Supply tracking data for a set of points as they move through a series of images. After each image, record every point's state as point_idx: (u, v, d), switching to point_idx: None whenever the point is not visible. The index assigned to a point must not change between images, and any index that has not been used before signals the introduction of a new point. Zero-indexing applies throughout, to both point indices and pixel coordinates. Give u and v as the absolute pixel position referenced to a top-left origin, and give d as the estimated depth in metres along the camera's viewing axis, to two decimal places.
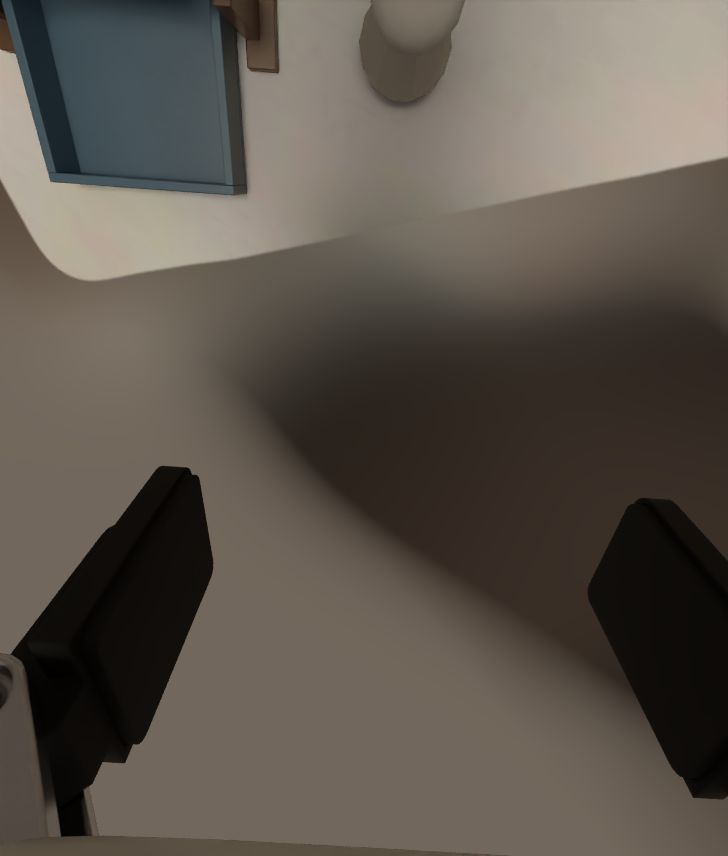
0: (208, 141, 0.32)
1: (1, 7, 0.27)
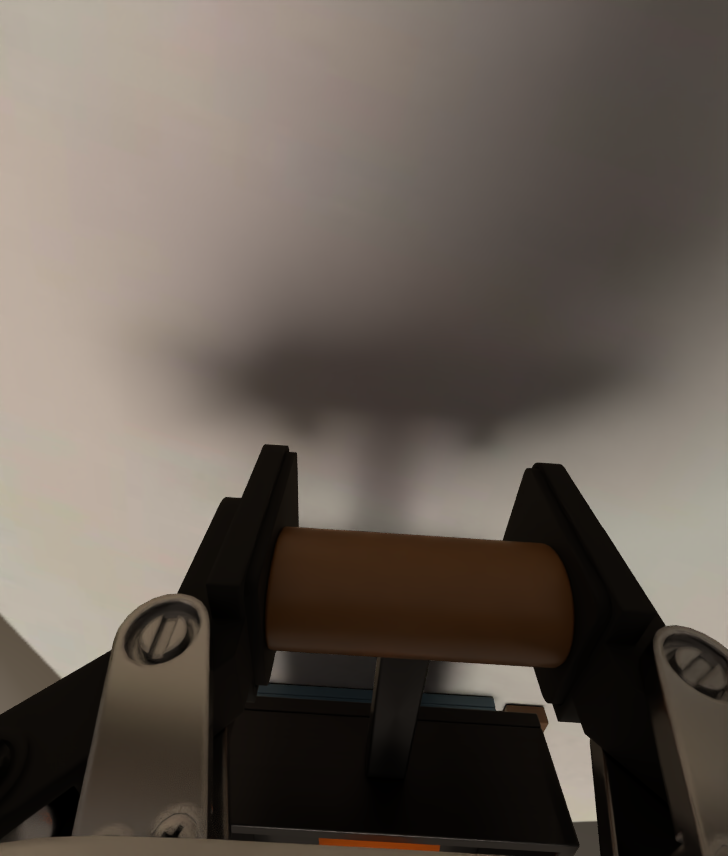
0: None
1: None
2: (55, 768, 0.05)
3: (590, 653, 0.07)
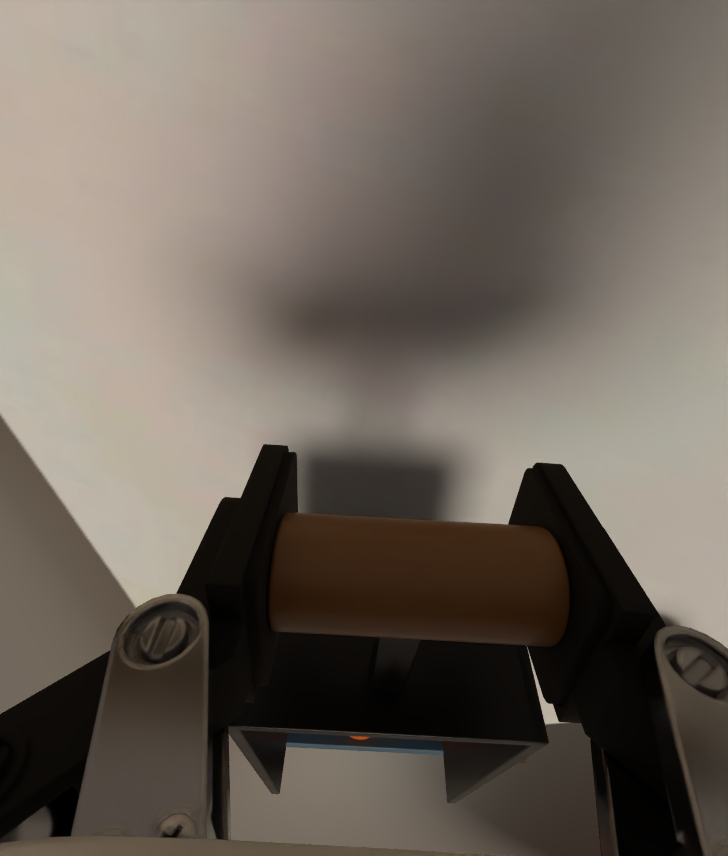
0: None
1: None
2: (54, 768, 0.05)
3: (591, 653, 0.07)
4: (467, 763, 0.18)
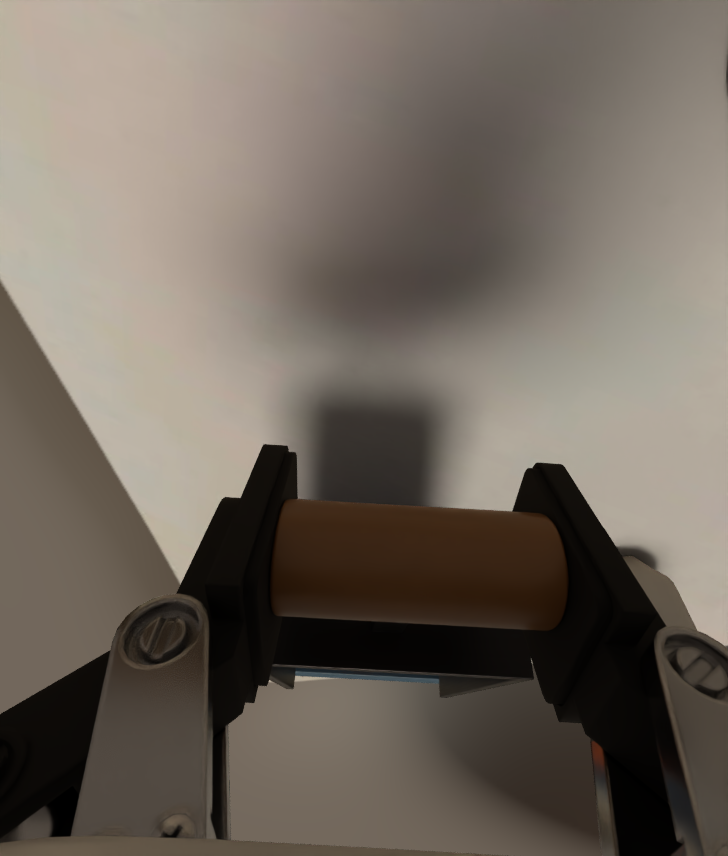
0: None
1: None
2: (53, 768, 0.05)
3: (591, 653, 0.07)
4: None
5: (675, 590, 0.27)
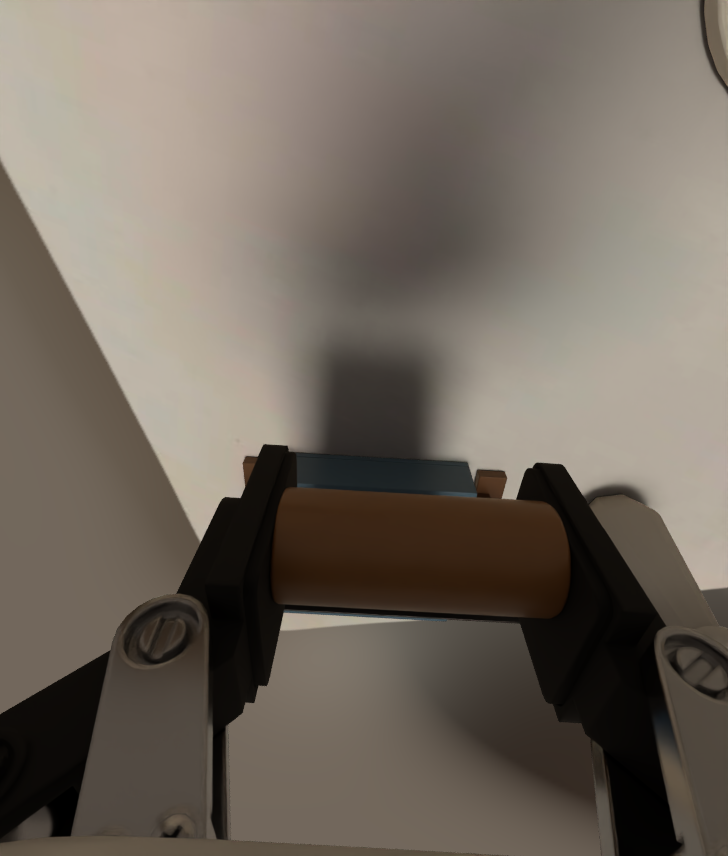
0: None
1: None
2: (54, 768, 0.05)
3: (591, 653, 0.07)
4: None
5: (662, 521, 0.29)
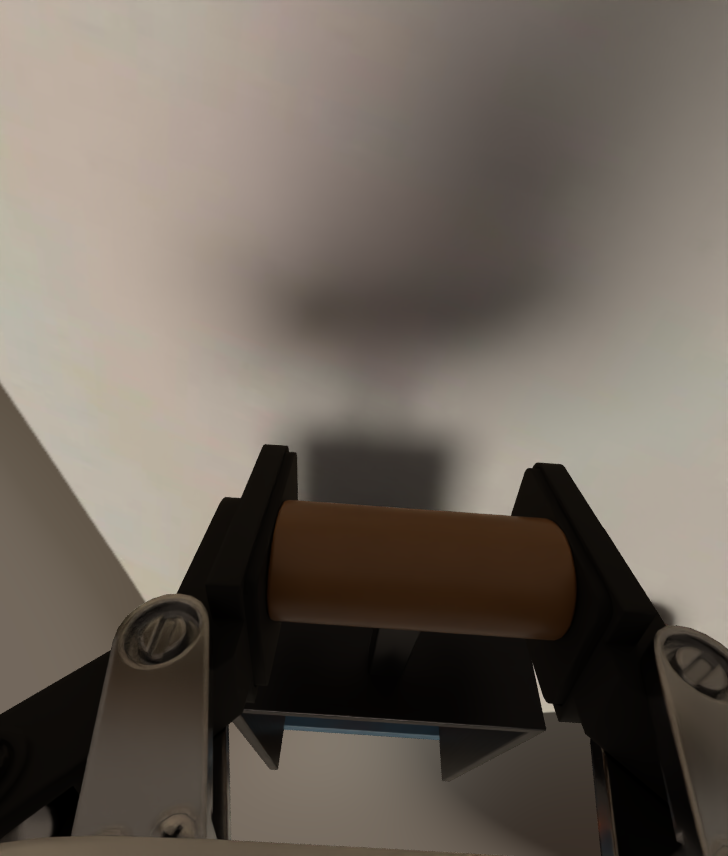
0: None
1: None
2: (54, 768, 0.05)
3: (590, 653, 0.07)
4: (463, 744, 0.18)
5: None
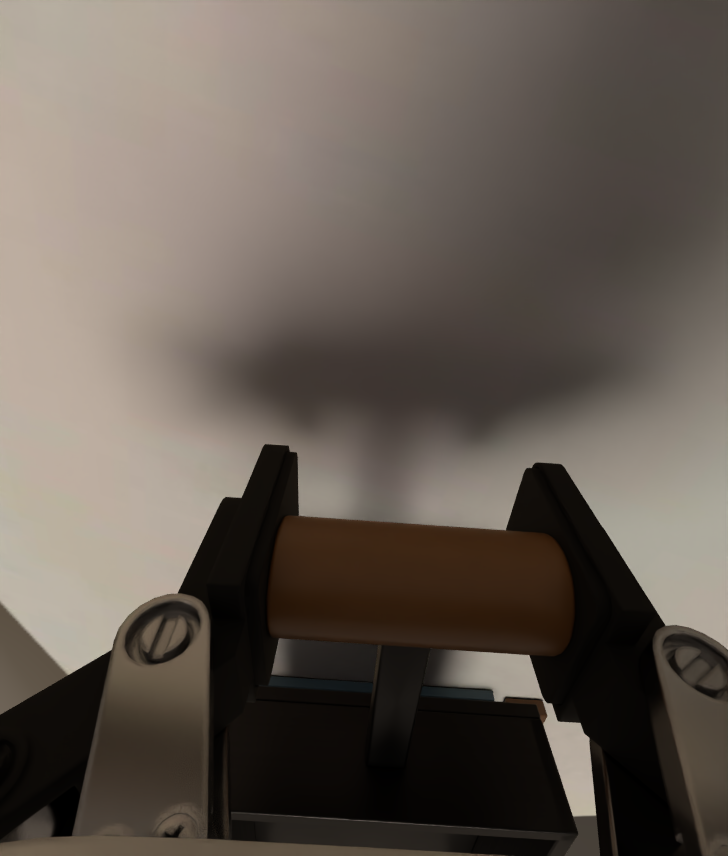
0: None
1: None
2: (55, 768, 0.05)
3: (590, 653, 0.07)
4: None
5: None
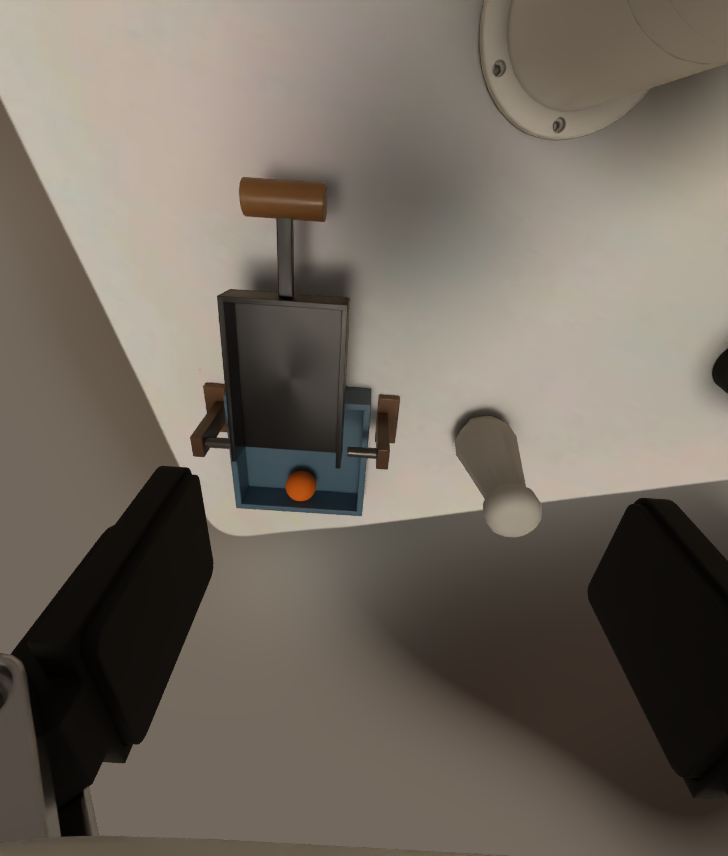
0: (341, 472, 0.46)
1: (222, 425, 0.41)
2: None
3: None
4: None
5: (509, 430, 0.40)
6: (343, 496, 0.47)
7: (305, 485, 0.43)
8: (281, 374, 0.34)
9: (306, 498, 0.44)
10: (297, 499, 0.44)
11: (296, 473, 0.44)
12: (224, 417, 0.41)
